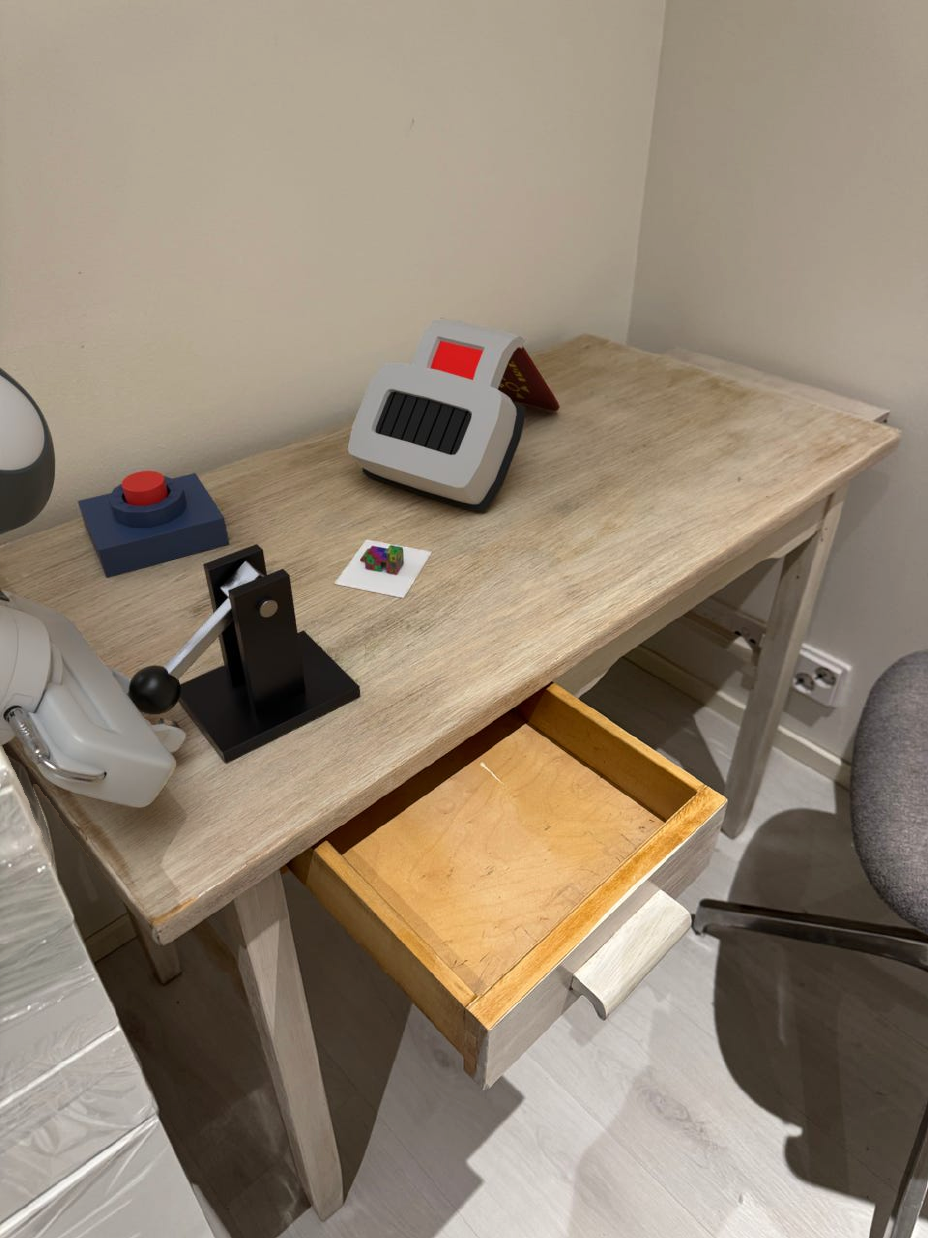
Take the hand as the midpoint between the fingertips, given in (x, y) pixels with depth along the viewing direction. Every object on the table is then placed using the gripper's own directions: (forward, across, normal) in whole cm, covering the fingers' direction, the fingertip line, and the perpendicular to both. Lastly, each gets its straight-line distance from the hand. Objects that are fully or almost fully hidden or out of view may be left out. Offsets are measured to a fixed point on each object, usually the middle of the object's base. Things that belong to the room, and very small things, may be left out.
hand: (162, 718), depth 67 cm
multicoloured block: (+20, +9, -17) cm, 28 cm away
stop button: (+6, +28, -10) cm, 30 cm away
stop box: (+10, +28, -6) cm, 30 cm away
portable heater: (+35, +21, -32) cm, 52 cm away
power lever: (+1, 0, -6) cm, 6 cm away
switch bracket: (+8, 0, -4) cm, 9 cm away
